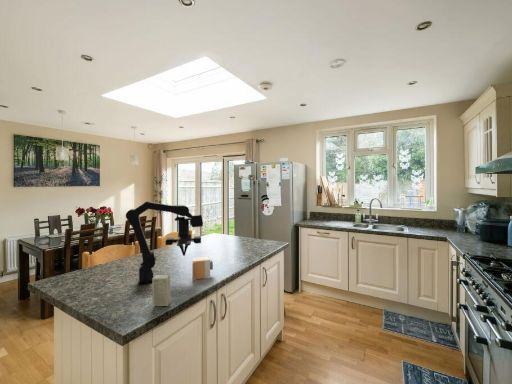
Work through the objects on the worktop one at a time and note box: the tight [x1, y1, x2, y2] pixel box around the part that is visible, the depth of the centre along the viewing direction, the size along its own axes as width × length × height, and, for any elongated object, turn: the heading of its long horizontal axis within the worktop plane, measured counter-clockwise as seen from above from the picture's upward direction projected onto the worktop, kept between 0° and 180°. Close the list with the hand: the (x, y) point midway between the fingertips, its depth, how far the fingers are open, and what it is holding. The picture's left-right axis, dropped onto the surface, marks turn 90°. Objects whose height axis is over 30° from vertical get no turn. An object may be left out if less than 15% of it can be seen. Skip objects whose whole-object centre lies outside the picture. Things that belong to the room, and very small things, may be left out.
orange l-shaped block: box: [191, 260, 206, 282], centre depth 132 cm, size 6×4×10 cm, turn 106°
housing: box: [192, 256, 214, 279], centre depth 137 cm, size 10×6×10 cm, turn 106°
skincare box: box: [151, 274, 171, 308], centre depth 104 cm, size 6×4×12 cm
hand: (184, 255), depth 137 cm, fingers closed
